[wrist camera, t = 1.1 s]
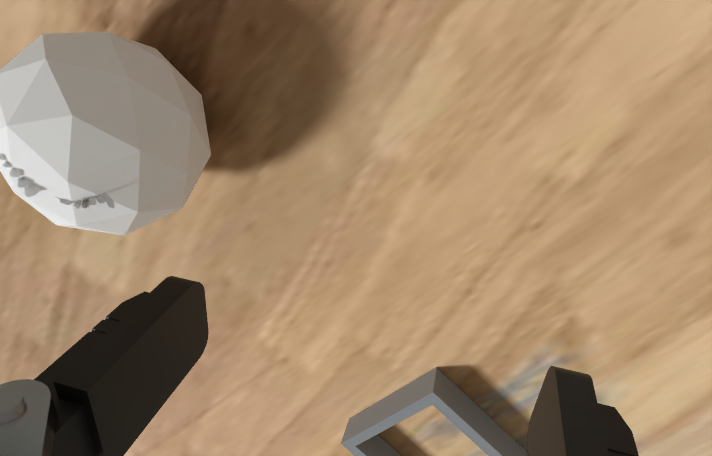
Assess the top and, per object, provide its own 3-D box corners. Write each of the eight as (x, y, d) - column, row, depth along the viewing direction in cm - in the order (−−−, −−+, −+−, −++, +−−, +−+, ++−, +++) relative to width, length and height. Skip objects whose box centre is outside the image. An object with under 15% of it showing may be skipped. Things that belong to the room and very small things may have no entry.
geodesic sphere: (268, 83, 29) (-16, 70, 20) (238, 263, 36) (16, 310, 27) (178, 15, 38) (-50, -15, 29) (168, 171, 45) (-19, 185, 36)
